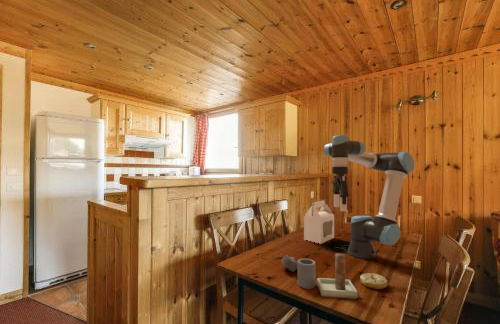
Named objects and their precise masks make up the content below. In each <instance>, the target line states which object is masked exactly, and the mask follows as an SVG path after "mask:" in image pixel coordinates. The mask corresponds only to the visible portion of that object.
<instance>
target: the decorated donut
mask: <svg viewBox="0 0 500 324" xmlns="http://www.w3.org/2000/svg"><path fill="white" fill-rule="evenodd" d="M359 277H360V278H359V279H360V283H361V284H362V285H363V286H365V287H367V288H369V289H370V288H371V289H374V290H375V289H376V290H382V289H385V288H387V286H388V280H387V279H386V277H384V276H383V275H381V274H378V273H371V272H370V273H369V272H368V273H363V274H361V275H360V276H359Z"/></svg>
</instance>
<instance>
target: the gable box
mask: <svg viewBox="0 0 500 324" xmlns="http://www.w3.org/2000/svg"><path fill="white" fill-rule="evenodd" d="M311 204H312V206H310V208H309V209H308V210H307V212H305V215H304V216H303V240H304V241H306V240H308V241H307V242H310V241H311V242H310V243H314V242H315V244H318V243H319V245H322V244H324V243H326V242H328V241H330V240H332V239H334V238H335V214H334V213H333V211H332V210H331V208H330V207H329V205H328V204H327V203H326V201H325V200H324V199H322V200H317V201H313V203H311ZM318 208H319V210H318Z"/></svg>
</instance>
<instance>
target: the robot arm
mask: <svg viewBox="0 0 500 324" xmlns="http://www.w3.org/2000/svg"><path fill="white" fill-rule="evenodd" d="M323 146H324V147H323V153H324V154H323V155H325V156H326V157H331V160H330V162H331V165H332V167H331V174H332V175H334V176H333V184H332V185H333V187H332V193H333V207H334V208H340V209H339V210H340V212H348V197H349V189H348V183H347V176H345V175H348V174H349V168H348V166H349V161H350V162H353V163H356V164H360V165H363V166H365V168H368V169H372V170H374V171H375V170H376V171H378V172H384V174H385V175H386V178H385V182H384V187H383V190H382V196H381V199H380V204H379V209H378V213H377V214H376V215H374V216H373V217H372V216H371V215H355V216H352V217H351V221H350V243H349V246H348V248H347V253H348V255H350V256H353V257H355V258H359V259H368V260H369V259H373V258H376V251H375V246H374V244H373V242H377V243H380V244H382V245H389V246H391V245H392V246H393V245H395V244H396V243H397V242H398V241H399V239H400V238H401V227H400V226H399V225H398V221H397V219H396V217H397V216H396V215H397V211H398V206H399V203H400V202H399V201H400V199H401V192H402V188H403V182H404V179H406V178H407V177H408V174H409V173H411V172H413V171H414V169H415V161H414V158H413V156H412V154H410V152H407V151H404V152H403V151H397V152H396V151H395V152H380V153H375V152H366V144H364V142H362V141H359V140H349V137H348V135H345V134H338V135H334V136H332V138H331V143H326V144H325V145H323Z"/></svg>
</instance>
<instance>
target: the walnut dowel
mask: <svg viewBox="0 0 500 324" xmlns="http://www.w3.org/2000/svg"><path fill="white" fill-rule="evenodd" d="M334 259H335V261H334V263H335V264H334V265H335V266H334V269H335V271H334V272H335V273H334V274H335V275H334V279H335V288H336V289H337V290H345V280H346V254H345V253H339V252H338V253H335V254H334Z"/></svg>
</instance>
